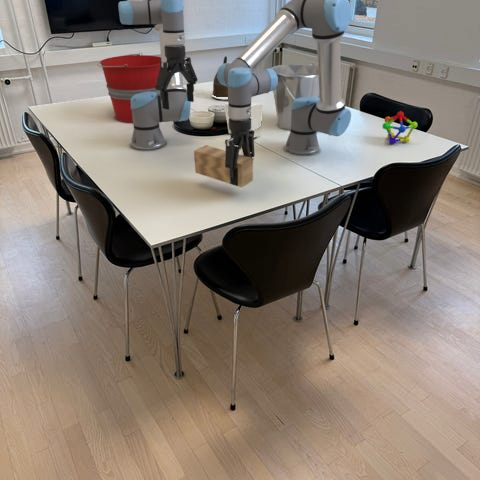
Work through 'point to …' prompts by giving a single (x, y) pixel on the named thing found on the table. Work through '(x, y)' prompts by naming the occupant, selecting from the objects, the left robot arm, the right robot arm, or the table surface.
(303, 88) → the bucket
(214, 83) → the bell
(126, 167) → the table surface
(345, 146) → the table surface
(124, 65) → the bucket
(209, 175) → the box
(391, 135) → the educational toy
